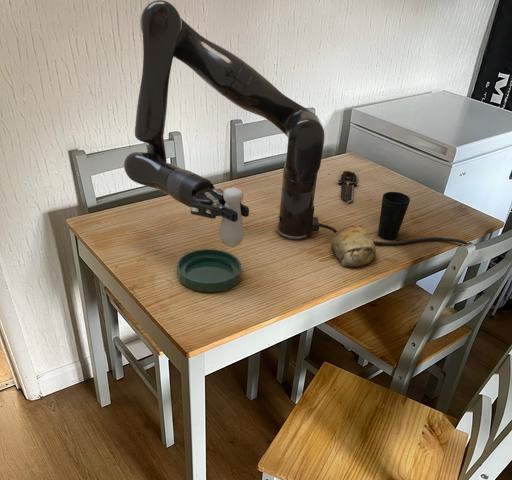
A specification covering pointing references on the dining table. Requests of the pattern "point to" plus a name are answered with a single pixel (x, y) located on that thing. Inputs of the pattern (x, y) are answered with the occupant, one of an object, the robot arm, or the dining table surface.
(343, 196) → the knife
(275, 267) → the dining table surface
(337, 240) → the pastry
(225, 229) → the salt shaker
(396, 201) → the cup
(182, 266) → the teal round dish
